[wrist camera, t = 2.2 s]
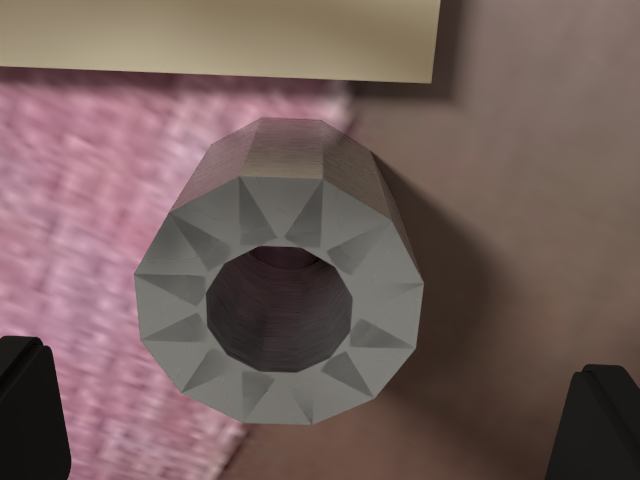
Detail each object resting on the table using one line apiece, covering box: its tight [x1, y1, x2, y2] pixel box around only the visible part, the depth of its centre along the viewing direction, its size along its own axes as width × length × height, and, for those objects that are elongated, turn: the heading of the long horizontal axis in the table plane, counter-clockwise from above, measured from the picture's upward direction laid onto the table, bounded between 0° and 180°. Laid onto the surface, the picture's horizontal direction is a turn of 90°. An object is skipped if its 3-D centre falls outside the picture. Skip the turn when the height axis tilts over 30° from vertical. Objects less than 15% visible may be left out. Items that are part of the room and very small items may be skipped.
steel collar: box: [134, 118, 424, 425], centre depth 18 cm, size 7×7×6 cm
